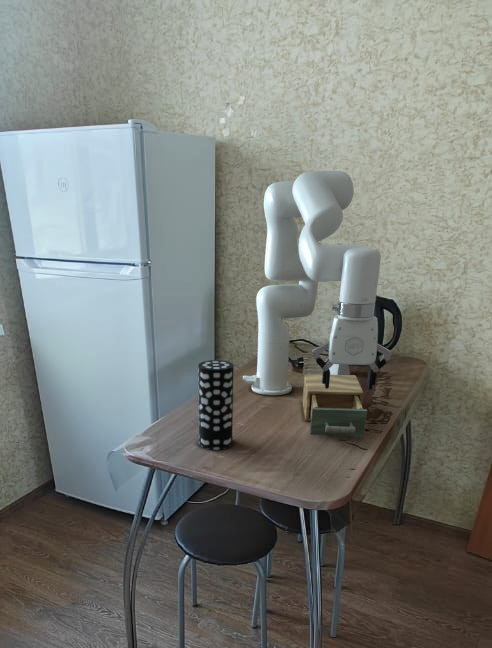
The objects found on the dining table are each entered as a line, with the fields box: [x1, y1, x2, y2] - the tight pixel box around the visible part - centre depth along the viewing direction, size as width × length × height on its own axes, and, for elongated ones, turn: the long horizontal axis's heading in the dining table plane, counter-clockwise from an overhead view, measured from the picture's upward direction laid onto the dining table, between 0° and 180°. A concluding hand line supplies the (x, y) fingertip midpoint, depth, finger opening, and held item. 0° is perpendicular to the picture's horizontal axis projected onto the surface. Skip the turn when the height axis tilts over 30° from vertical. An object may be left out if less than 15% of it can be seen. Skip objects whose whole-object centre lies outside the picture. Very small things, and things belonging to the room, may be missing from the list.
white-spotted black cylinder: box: [197, 359, 234, 451], centre depth 140 cm, size 8×8×20 cm
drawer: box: [309, 394, 368, 437], centre depth 149 cm, size 20×13×7 cm
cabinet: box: [302, 373, 364, 422], centre depth 162 cm, size 16×15×9 cm
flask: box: [329, 364, 351, 375], centre depth 194 cm, size 7×7×10 cm
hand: (347, 387), depth 131 cm, fingers open, 9 cm apart
